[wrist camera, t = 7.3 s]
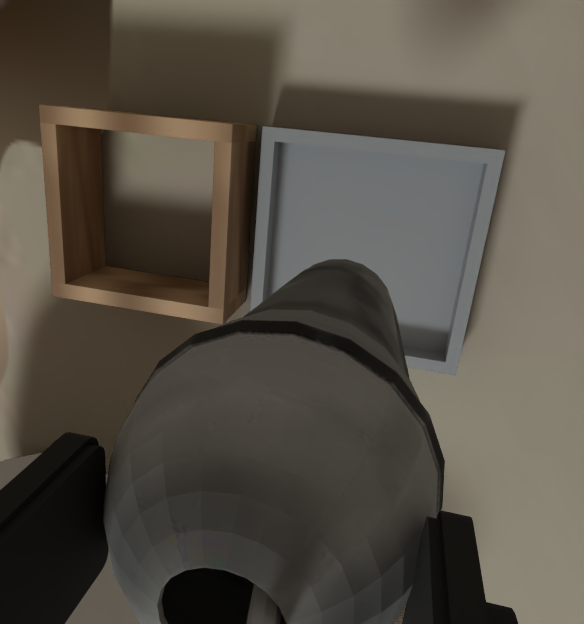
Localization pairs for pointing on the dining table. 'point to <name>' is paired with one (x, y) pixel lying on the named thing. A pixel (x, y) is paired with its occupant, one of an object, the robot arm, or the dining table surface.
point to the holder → (90, 214)
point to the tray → (380, 225)
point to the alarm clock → (104, 591)
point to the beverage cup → (278, 466)
